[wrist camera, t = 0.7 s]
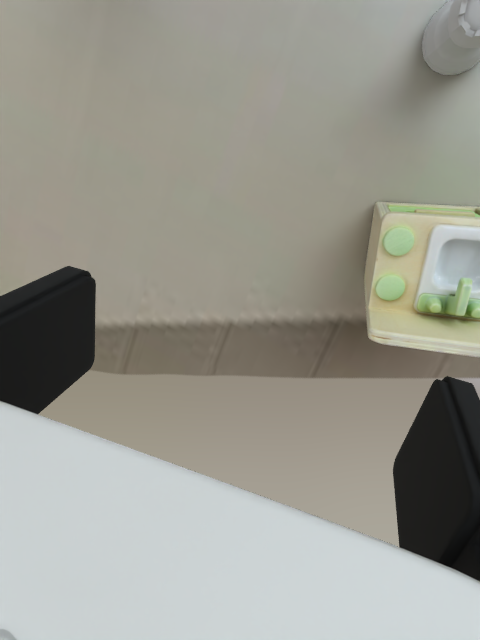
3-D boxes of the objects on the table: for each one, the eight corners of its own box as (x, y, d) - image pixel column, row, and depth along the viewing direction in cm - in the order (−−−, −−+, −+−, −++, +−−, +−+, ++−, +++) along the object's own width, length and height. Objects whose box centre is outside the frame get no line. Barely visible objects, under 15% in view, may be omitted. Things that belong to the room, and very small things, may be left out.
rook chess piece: (435, 90, 30) (458, 76, 23) (410, 29, 29) (425, -5, 22) (502, 48, 28) (550, 19, 21) (477, -18, 27) (518, -73, 20)
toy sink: (491, 198, 31) (565, 235, 20) (467, 287, 34) (519, 364, 23) (376, 193, 33) (382, 224, 22) (363, 277, 36) (363, 344, 25)
